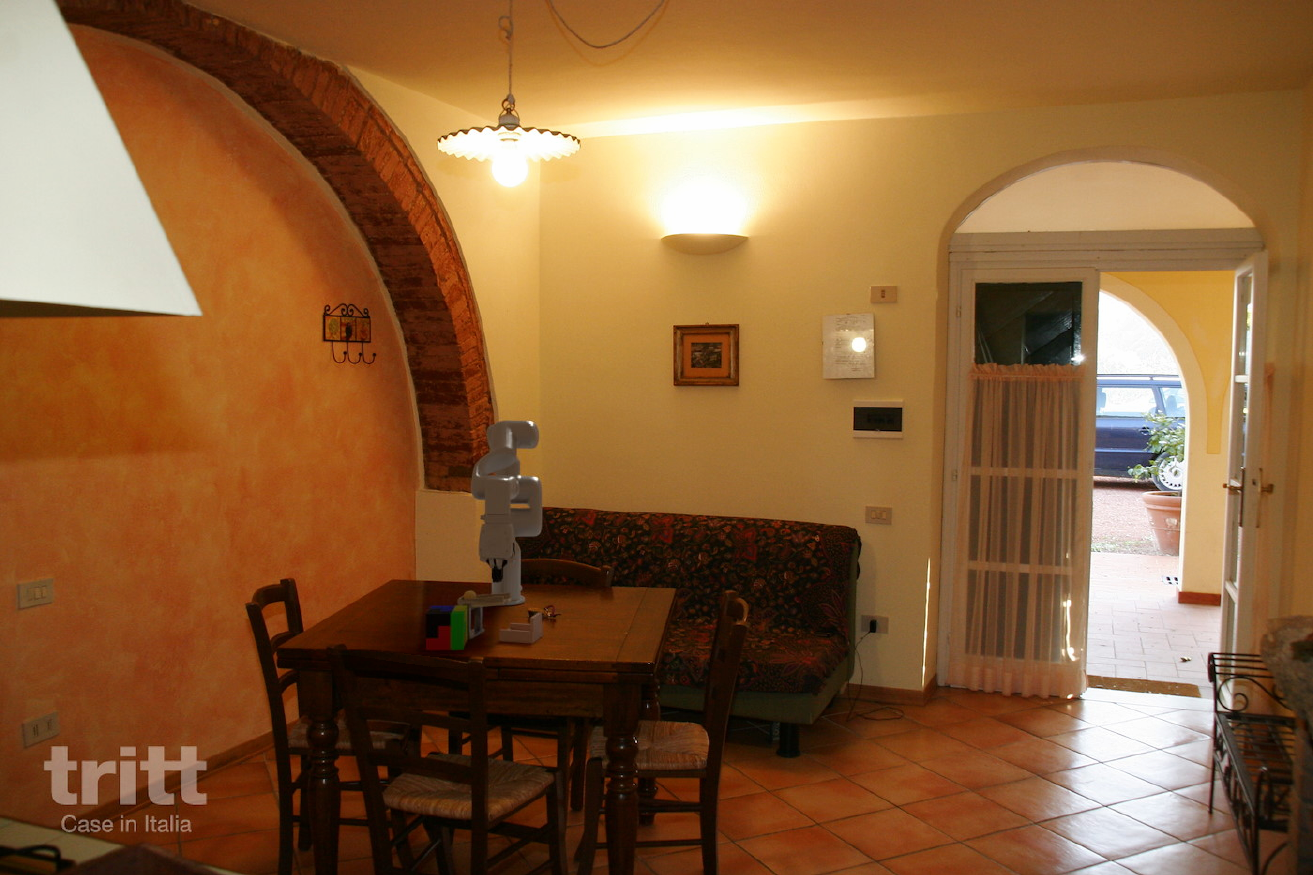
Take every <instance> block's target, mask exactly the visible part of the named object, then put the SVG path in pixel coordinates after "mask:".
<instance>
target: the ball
mask: <svg viewBox="0 0 1313 875" xmlns="http://www.w3.org/2000/svg"><path fill="white" fill-rule="evenodd" d="M476 595H477V593H476V592H475V591H473V590H468V591H465V592H464V594H463V596H464V599H475V598H476Z"/></svg>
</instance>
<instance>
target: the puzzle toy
mask: <svg viewBox="0 0 1313 875" xmlns="http://www.w3.org/2000/svg"><path fill="white" fill-rule="evenodd" d="M467 642H468V639H467V606H454V605H431V606H430V607H429V608H428V610H427V612H426V613H425V651H455V650H456V651H460V650H461V651H463V650H464V649H465V646H466V643H467Z"/></svg>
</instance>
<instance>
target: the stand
mask: <svg viewBox="0 0 1313 875" xmlns="http://www.w3.org/2000/svg"><path fill="white" fill-rule="evenodd" d="M463 606H467V640H472V639H474V638H475V637H477V636H479V635H481V634H483V633H484V632H486V631H485V630H486V629H485V628H483V607H476V608H475V609H473V610H474V611H473V612H474V615H473V617H474V622H473V627H474V628H473V629H472V627H471V626H472V622H471V621H472V620H471V619H472V612H471V611H472V610H471V604H469V603H464V604H463Z"/></svg>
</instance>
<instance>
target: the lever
mask: <svg viewBox="0 0 1313 875" xmlns="http://www.w3.org/2000/svg"><path fill="white" fill-rule="evenodd" d="M510 601H511V593H510V592H508V593H496V594H492V593H485V594H484V593H483V594H476V598H475V599H464V595H463V596H461V597H459V598H458V599H457V604H456V605H453V606H463V604H464V603H469V604H471V611H473V610H474V609H475V608H476V607H482V608H483V607H493V606H494V607H495V606H505V605H504V604H506V603H508V602H510Z"/></svg>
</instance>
